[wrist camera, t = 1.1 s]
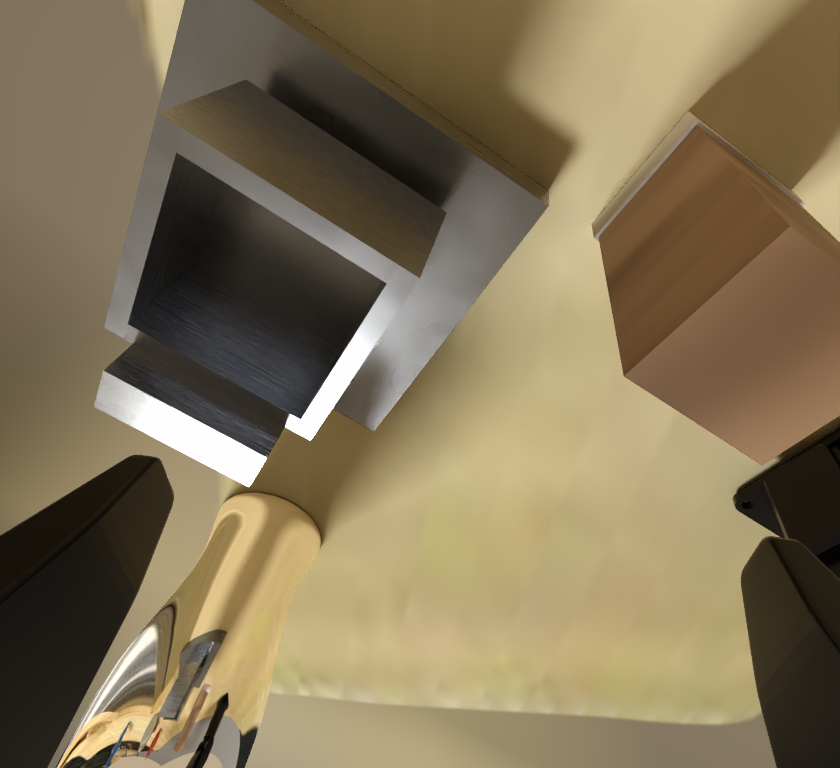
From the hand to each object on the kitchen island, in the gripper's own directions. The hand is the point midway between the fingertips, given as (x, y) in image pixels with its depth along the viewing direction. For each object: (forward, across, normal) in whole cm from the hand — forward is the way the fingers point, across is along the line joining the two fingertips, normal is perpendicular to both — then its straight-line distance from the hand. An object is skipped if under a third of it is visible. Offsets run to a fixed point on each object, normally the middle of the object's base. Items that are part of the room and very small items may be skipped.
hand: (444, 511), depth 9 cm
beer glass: (+14, +11, +20) cm, 27 cm away
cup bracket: (+14, +6, +2) cm, 15 cm away
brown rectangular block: (+14, -6, 0) cm, 15 cm away
